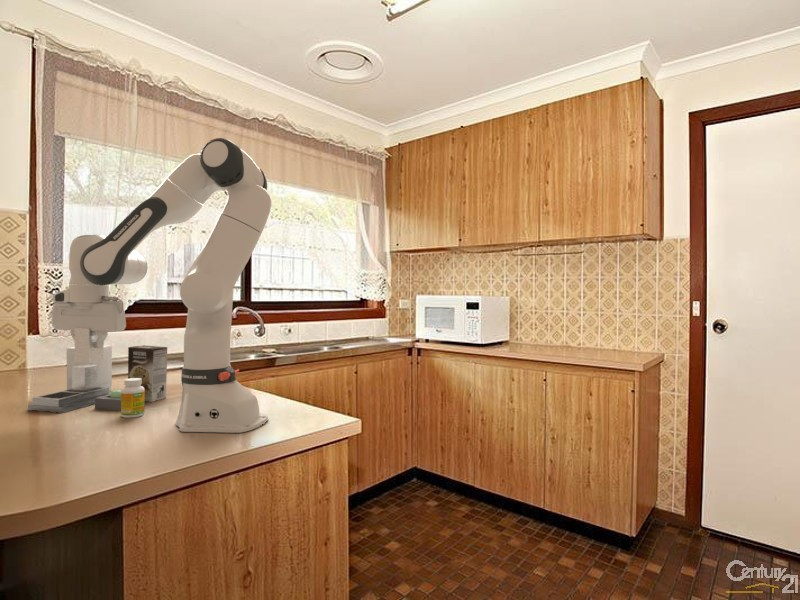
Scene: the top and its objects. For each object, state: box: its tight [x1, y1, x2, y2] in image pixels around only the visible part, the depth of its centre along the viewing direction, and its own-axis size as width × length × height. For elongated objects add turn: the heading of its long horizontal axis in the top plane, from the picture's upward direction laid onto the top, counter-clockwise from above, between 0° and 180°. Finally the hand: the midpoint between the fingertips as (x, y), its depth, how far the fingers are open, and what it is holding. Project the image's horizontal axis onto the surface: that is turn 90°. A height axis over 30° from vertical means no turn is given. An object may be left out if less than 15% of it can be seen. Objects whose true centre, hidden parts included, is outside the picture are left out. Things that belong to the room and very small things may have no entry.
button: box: [109, 389, 122, 398], centre depth 131 cm, size 4×4×3 cm
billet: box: [74, 328, 103, 363], centre depth 122 cm, size 4×4×9 cm
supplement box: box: [66, 345, 113, 392], centre depth 147 cm, size 9×9×15 cm
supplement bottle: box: [120, 378, 145, 419], centre depth 122 cm, size 5×5×10 cm
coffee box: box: [127, 345, 168, 403], centre depth 141 cm, size 9×6×16 cm
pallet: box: [27, 364, 110, 414], centre depth 132 cm, size 11×17×10 cm, turn 169°
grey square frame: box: [94, 393, 121, 412], centre depth 131 cm, size 8×8×3 cm
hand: (89, 347), depth 122 cm, fingers closed on billet, 4 cm apart
